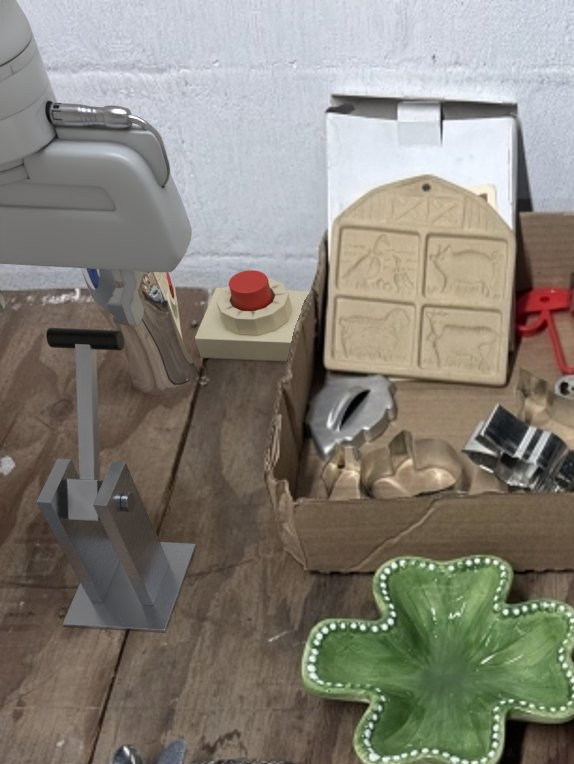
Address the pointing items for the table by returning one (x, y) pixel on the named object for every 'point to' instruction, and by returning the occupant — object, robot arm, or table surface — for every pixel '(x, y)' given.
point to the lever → (86, 412)
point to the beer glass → (149, 332)
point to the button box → (250, 326)
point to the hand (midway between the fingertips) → (61, 316)
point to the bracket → (115, 555)
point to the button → (250, 290)
